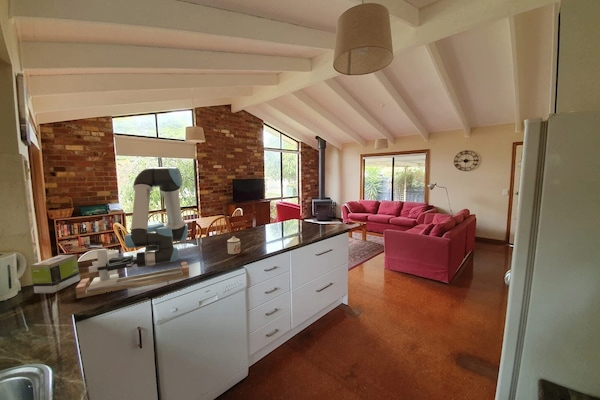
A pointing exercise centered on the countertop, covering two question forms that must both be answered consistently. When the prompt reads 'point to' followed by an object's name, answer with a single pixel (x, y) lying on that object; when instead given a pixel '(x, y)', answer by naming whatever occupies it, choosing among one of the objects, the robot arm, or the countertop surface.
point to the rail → (133, 281)
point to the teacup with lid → (233, 245)
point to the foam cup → (113, 255)
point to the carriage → (103, 272)
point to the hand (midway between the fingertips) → (91, 267)
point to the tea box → (55, 273)
